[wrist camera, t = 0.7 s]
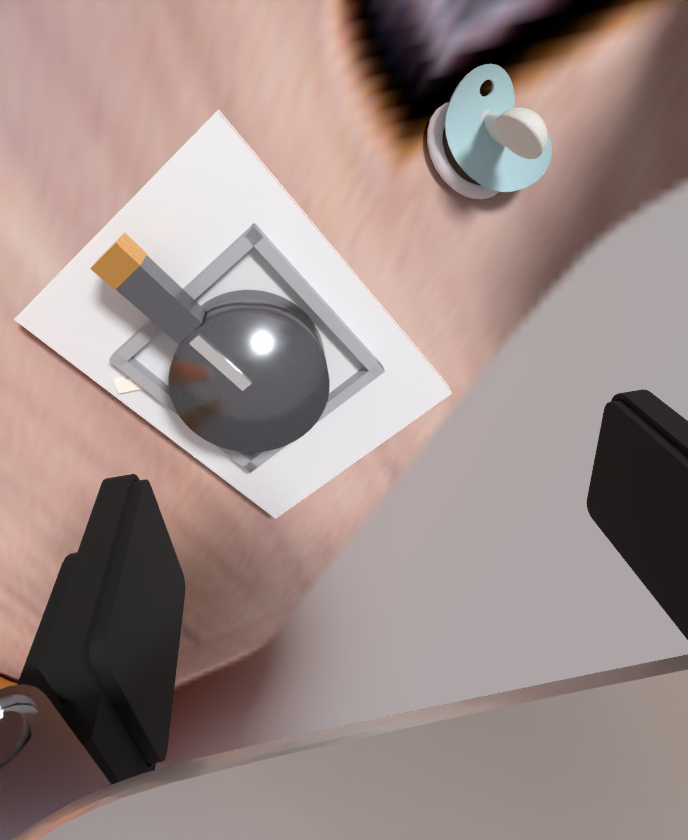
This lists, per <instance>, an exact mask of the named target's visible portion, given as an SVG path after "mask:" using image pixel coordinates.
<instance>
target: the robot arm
mask: <svg viewBox="0 0 688 840" xmlns="http://www.w3.org/2000/svg"><path fill="white" fill-rule="evenodd" d="M587 508H588V511H589V514H590V516H591V517H592V519H593V520H594V521H595V523H596V524H597V525H598V527H599V528H600V529H601V530H602V532H603V533H604V534H605V535H606V537H607V538H608V539H609V541H610V542H611V543H612V544H613V545H614V547H615V548H616V549H617V551H618V552H619V553H620V554H621V556H622V557H623V558H624V559H625V561H626V562H627V563H628V565H629V566H630V567H631V568H632V570H633V571H634V572H635V574H636V575H637V576H638V577H639V579H640V580H641V581H642V582H643V584H644V585H645V586H646V588H647V589H648V590H649V591H650V593H651V594H652V595H653V596H654V598H655V599H656V600H657V601H658V603H659V604H660V605H661V606H662V608H663V609H664V610H665V612H666V613H667V614H668V615H669V617H670V618H671V619H672V621H673V622H674V623H675V624H676V626H677V627H678V628H679V629H680V631H681V632H682V633H683V634H684V636H685V637H686V638H687V640H688V421H687V420H686V419H684V418H683V417H682V416H680V415H679V414H678V413H677V412H675V411H674V410H673V409H671V408H670V407H669V406H667V405H666V404H665V403H664V402H662V401H661V400H660V399H658V398H657V397H656V396H655V395H653V394H652V393H651V392H649V391H647V390H638V391H632V392H625V393H619V394H617V395H615V396H614V397H613V398H612V401H611V402H609V403H607V404H606V406H605V409H604V413H603V419H602V424H601V429H600V434H599V440H598V445H597V450H596V455H595V460H594V466H593V471H592V476H591V481H590V487H589V492H588V497H587ZM184 597H185V581H184V576H183V572H182V570H181V567H180V564H179V561H178V559H177V556H176V553H175V550H174V548H173V545H172V542H171V539H170V537H169V534H168V531H167V528H166V526H165V523H164V520H163V518H162V515H161V512H160V509H159V507H158V504H157V501H156V498H155V496H154V493H153V490H152V487H151V485H150V483H149V481H148V480H139V478H138V476H137V475H135V474H131V475H125V476H119V477H113V478H107V479H104V480H103V482H102V484H101V487H100V490H99V493H98V495H97V498H96V501H95V504H94V507H93V510H92V513H91V515H90V518H89V521H88V524H87V527H86V530H85V533H84V536H83V538H82V541H81V544H80V547H79V550H78V553H72V554H69V555H68V556H67V557H66V558H65V560H64V562H63V564H62V566H61V569H60V571H59V574H58V577H57V579H56V582H55V585H54V587H53V590H52V593H51V595H50V598H49V601H48V604H47V606H46V609H45V612H44V614H43V617H42V620H41V622H40V625H39V628H38V630H37V633H36V636H35V638H34V641H33V644H32V647H31V649H30V652H29V655H28V657H27V660H26V663H25V665H24V668H23V671H22V673H21V676H20V679H19V682H18V684H17V685H15V686H8V687H5V688H2V689H0V840H688V655H683V656H678V657H673V658H669V659H664V660H658V661H653V662H649V663H643V664H638V665H634V666H629V667H624V668H619V669H614V670H609V671H604V672H600V673H594V674H589V675H585V676H580V677H575V678H570V679H565V680H560V681H555V682H550V683H545V684H541V685H536V686H531V687H527V688H521V689H516V690H512V691H507V692H502V693H497V694H493V695H488V696H483V697H478V698H473V699H468V700H464V701H459V702H454V703H449V704H444V705H440V706H435V707H430V708H425V709H421V710H416V711H411V712H406V713H402V714H397V715H392V716H388V717H383V718H379V719H374V720H369V721H364V722H360V723H355V724H350V725H345V726H341V727H337V728H331V729H327V730H322V731H317V732H313V733H308V734H304V735H299V736H294V737H289V738H285V739H280V740H276V741H272V742H267V743H263V744H259V745H255V746H250V747H246V748H241V749H237V750H233V751H228V752H224V753H220V754H215V755H211V756H207V757H202V758H198V759H194V760H190V761H186V762H182V763H179V764H175V765H172V766H168V767H165V768H161V769H157V770H155V765H156V763H157V762H162V761H164V760H165V757H166V753H167V747H168V738H169V728H170V720H171V711H172V703H173V694H174V685H175V676H176V668H177V659H178V650H179V641H180V632H181V624H182V615H183V606H184Z"/></svg>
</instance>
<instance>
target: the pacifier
mask: <svg viewBox="0 0 688 840" xmlns="http://www.w3.org/2000/svg"><path fill="white" fill-rule="evenodd" d="M488 79H489V80H490V81H491V82H492V89H491V92H490V93H489V94H488V95H487V96H484V97H483V96H481V94H480V86H481V84H482V83H483V82H484V81H485V80H488ZM514 103H515V97H514V89H513V85H512V82H511V79H510V77H509V75H508V74H507V73H506V71H505V70H504V69H503V68H501V67H500V66H498V65H494V64H485V65H482V66H479V67H477V68H475V69H474V70H472V71H471V72H470V73H468V74H467V75H466V76H465V77H464V78H463V79H462V81H461V82H460V83H459V85H458V86H457V88H456V89H455V91H454V93H453V95H452V97H451V99H450V102H448V103H445V104H443V105H442V106H441V107H439V108H438V109H437V110H436V111H435V113H434V114H433V116H432V117H431V119H430V122H429V126H428V130H427V145H428V149H429V154H430V157H431V160H432V162H433V164H434V167H435V169H436V170H437V172H438V173H439V175H440V176H441V178H442V179H443V180H444V181H445V182H446V183H447V184H448V185H449V186H450V187H451V188H452V189H453V190H455V191H457V192H458V193H460V194H461V195H463V196H466V197H469V198H472V199H486V198H490V197H493V196H495V195H496V194H497V193H499V192H512V191H516V190H520V189H523V188H526V187H528V186H530V185H532V184H533V183H535V182H536V181H537V180H538V179H540V178H541V177H542V176H543V174H544V173H545V172H546V170H547V168H548V166H549V164H550V161H551V157H552V145H551V140H550V136H549V134H548V132H547V128H546V125H545V123H544V121H543V120H542V118H541V117H540V116H539V115H538V114H537V113H535V112H534V111H532V110H529V109H526V108H515V106H514ZM444 127H445V134H446V138H447V142H448V145H449V148H450V150H451V152H452V154H453V156H454V158H455V160H456V161H457V163H458V164H459V165H460V167H461V168H462V169H463V170H464V171H465V172H466V173H467V174H468V175H469V176H470V177H471V178H472V179H473V180H475V181H476V182H478V183H479V184H477V183H472V182H469V181H466V180H465V179H463V178H462V177H460V176H459V175H458V174H457V173H456V172H455V171H454V169H453V168H452V166H451V165H450V163H449V162H448V159H447V157H446V155H445V152H444V148H443V130H444Z"/></svg>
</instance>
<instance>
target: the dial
mask: <svg viewBox="0 0 688 840" xmlns="http://www.w3.org/2000/svg"><path fill="white" fill-rule="evenodd" d="M90 269H91V270H92V271H93V272H94V273H96V274H97V275H98V276H99V277H100V278H101V279H102V280H104V281H105V282H106V283H107V284H108V285H109V286H110V287H112V288H113V289H114V290H117V291H118V292H119V293H120V294H121V295H123V296H124V297H125V298H126V299H127V300H128V301H129V302H131V303H132V304H133V305H134V306H135V307H136V308H137V309H139V310H140V311H141V312H142V313H143V314H144V315H145V316H146V317H148V318H149V319H150V320H151V321H152V322H153V323H154V324H156V325H157V326H158V327H159V328H160V329H161V330H162V331H164V332H165V333H166V334H167V335H168V336H169V337H170V338H172V339H173V340H174V341H175V342H176V343H177V347H176V350H175V353H174V356H173V359H172V362H171V366H170V370H169V376H168V386H169V392H170V397H171V400H172V403H173V405H174V407H175V410H176V412H177V413H178V415H179V416H180V418H181V419H182V421H183V422H184V423H185V424H186V425H187V426H188V427H189V428H190V429H191V430H192V431H193V432H194V433H195V434H197V435H198V436H200V437H201V438H203V439H204V440H206V441H208V442H210V443H212V444H214V445H216V446H219V447H221V448H225V449H228V450H233V451H239V452H263V451H270V450H274V449H278V448H281V447H283V446H286V445H288V444H290V443H292V442H294V441H296V440H298V439H299V438H301V437H302V436H304V435H305V434H306V433H307V432H308V431H309V430H310V429H311V428H312V427H313V426H314V425H315V424H316V423H317V421H318V420H319V418H320V417H321V415H322V413H323V411H324V409H325V407H326V404H327V401H328V396H329V387H330V381H329V373H328V368H327V362H326V357H325V352H324V346H323V342H322V339H321V336H320V334H319V331H318V329H317V327H316V326H315V324H314V323H313V321H312V320H311V319H310V317H309V316H308V315H307V314H306V313H305V312H304V311H303V310H302V309H301V308H300V307H298V306H297V305H295V304H294V303H293V302H291V301H289V300H287V299H285V298H284V297H281V296H279V295H276V294H273V293H269V292H265V291H259V290H238V291H232V292H228V293H224V294H221V295H219V296H216V297H214V298H212V299H210V300H209V301H207V302H205V303H204V304H203V305H201V306H200V305H199V304H198V303H197V302H196V301H195V300H194V299H193V298H192V297H191V296H190V295H189V294H188V293H187V292H186V291H185V290H183V289H182V288H181V287H180V286H179V285H178V284H177V283H176V282H175V281H174V280H173V279H172V278H171V277H170V276H169V275H168V274H167V273H165V272H164V271H163V270H162V269H161V268H160V267H159V266H158V265H157V264H156V263H155V262H154V261H153V260H152V259H151V258H150V257H149V256H147V253H146V252H145V251H144V250H143V249H142V248H141V247H140V246H139V245H137V244H136V243H135V242H134V241H133V240H132V239H131V238H130V237H129V236H128V235H127V234H126V233H125V232H124V233H123V234H122V235H121V236H120V237H119V238H118V239H117V240H116V241H115V242H114V243H113V244H112V245H111V246H110V247H109V248H108V249H107V250H106V251H105V252H104V253H103V254H102V255H101V256H100V258H99V259H98V260H97V261H96V262H95V263H94V265H93V266H92V267H91V268H90Z"/></svg>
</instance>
